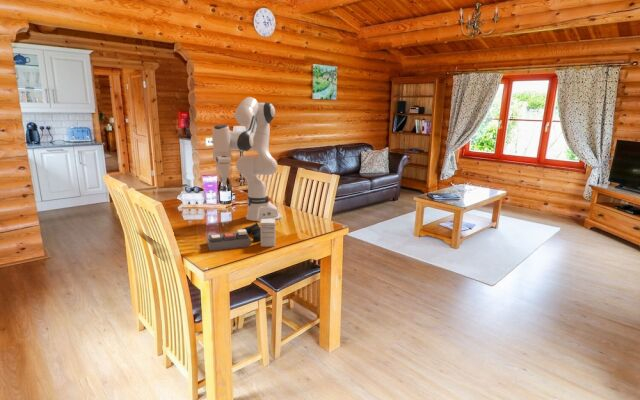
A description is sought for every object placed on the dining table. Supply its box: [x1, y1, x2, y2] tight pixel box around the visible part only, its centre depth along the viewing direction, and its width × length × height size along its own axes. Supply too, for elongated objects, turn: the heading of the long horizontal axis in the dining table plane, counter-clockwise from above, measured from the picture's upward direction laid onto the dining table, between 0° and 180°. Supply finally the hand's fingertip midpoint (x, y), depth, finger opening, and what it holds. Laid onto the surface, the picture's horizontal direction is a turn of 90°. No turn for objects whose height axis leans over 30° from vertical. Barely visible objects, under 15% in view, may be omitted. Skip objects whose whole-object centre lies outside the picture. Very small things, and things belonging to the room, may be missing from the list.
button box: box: [206, 231, 252, 252], centre depth 188 cm, size 20×12×6 cm, turn 113°
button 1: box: [210, 234, 220, 239], centre depth 183 cm, size 4×4×2 cm
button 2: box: [236, 228, 247, 235], centre depth 187 cm, size 4×4×2 cm
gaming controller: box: [241, 222, 261, 242], centre depth 201 cm, size 17×6×10 cm
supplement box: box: [259, 219, 276, 248], centre depth 189 cm, size 7×7×13 cm
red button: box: [223, 232, 234, 237], centre depth 185 cm, size 4×4×2 cm
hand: (223, 183), depth 192 cm, fingers open, 8 cm apart
